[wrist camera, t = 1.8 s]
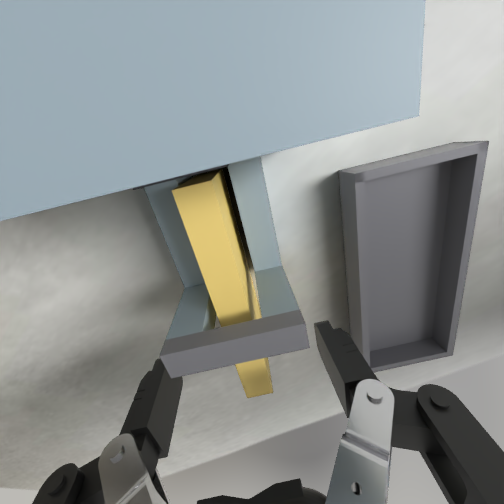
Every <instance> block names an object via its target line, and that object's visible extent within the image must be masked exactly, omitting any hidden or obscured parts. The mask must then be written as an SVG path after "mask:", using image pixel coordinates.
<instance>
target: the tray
mask: <svg viewBox="0 0 504 504" xmlns="http://www.w3.org/2000/svg"><path fill="white" fill-rule="evenodd" d="M488 145H489V141H473V142H453V143H449V144H445V145H441V146H437V147H433V148H429V149H425V150H421V151H417V152H413V153H409V154H404V155H400V156H396V157H392V158H388V159H384V160H380V161H376V162H372V163H368V164H364V165H360V166H356V167H352V168H348V169H343V170H339V183H340V197H341V211H342V224H343V238H344V252H345V265H346V279H347V293H348V306H349V320H350V334H351V338H352V340H353V341H354V344H356V346H357V348H358V350H359V351H360V352H361V354H362V355H363V357H364V359H365V360H366V362H367V363H368V365H369V366H370V368H371V370H372V371H373V372H378V371H382V370H387V369H391V368H396V367H401V366H405V365H410V364H415V363H419V362H424V361H428V360H433V359H438V358H442V357H447V356H452V355H453V350H454V345H455V339H456V333H457V327H458V321H459V315H460V309H461V303H462V298H463V292H464V286H465V280H466V274H467V268H468V262H469V256H470V250H471V245H472V239H473V233H474V227H475V221H476V215H477V209H478V203H479V198H480V192H481V186H482V180H483V174H484V168H485V162H486V156H487V151H488Z"/></svg>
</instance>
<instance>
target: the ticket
mask: <svg viewBox="0 0 504 504" xmlns="http://www.w3.org/2000/svg"><path fill="white" fill-rule="evenodd" d="M172 193H173V196H174V199H175V201H176V204H177V207H178V210H179V212H180V215H181V218H182V221H183V223H184V226H185V229H186V232H187V234H188V237H189V240H190V242H191V245H192V248H193V251H194V253H195V256H196V259H197V262H198V264H199V267H200V270H201V273H202V275H203V278H204V281H205V284H206V286H207V289H208V292H209V295H210V297H211V300H212V303H213V306H214V308H215V311H216V314H217V317H218V319H219V322H220V325H221V327H224V326H229V325H233V324H238V323H242V322H246V321H251V320H255V319H260V318H262V316H261V312H260V308H259V304H258V301H257V297H256V293H255V289H254V286H253V282H252V278H251V274H250V271H249V267H248V263H247V259H246V256H245V252H244V248H243V244H242V241H241V237H240V233H239V229H238V226H237V222H236V218H235V214H234V211H233V207H232V203H231V199H230V195H229V192H228V188H227V184H226V180H225V177H224V173H223V169H222V168H220V169H216V170H212V171H208V172H204V173H200V174H198V175H196V176H195V177H193V178H191V179H190V180H188V181H186V182H185V183H183V184H181V185H180V186H178V187H176V188H175V189H173V190H172ZM235 366H236V369H237V371H238V374H239V377H240V380H241V382H242V385H243V388H244V391H245V393H246V396H247V398H251V397H256V396H260V395H265V394H269V393H273V388H272V381H271V375H270V368H269V362H268V357H266V358H262V359H257V360H253V361H248V362H244V363H239V364H235Z"/></svg>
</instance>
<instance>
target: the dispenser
mask: <svg viewBox="0 0 504 504" xmlns="http://www.w3.org/2000/svg"><path fill="white" fill-rule="evenodd" d="M424 18H425V0H0V221H3V220H7V219H11V218H15V217H19V216H23V215H27V214H31V213H35V212H39V211H43V210H47V209H51V208H55V207H58V206H62V205H66V204H70V203H74V202H78V201H82V200H86V199H90V198H94V197H98V196H102V195H106V194H110V193H114V192H118V191H122V190H126V189H130V188H133V190H135V189H139V188H143V187H144V190H145V192H146V194H147V197H148V199H149V202H150V204H151V207H152V209H153V211H154V214H155V216H156V219H157V221H158V224H159V226H160V229H161V231H162V233H163V236H164V238H165V241H166V243H167V246H168V248H169V250H170V253H171V255H172V258H173V260H174V263H175V265H176V267H177V270H178V272H179V275H180V277H181V280H182V282H183V285H184V287H185V289H184V292H183V295H182V297H181V300H180V303H179V305H178V308H177V311H176V313H175V316H174V319H173V321H172V324H171V327H170V329H169V332H168V335H167V337H166V340H165V343H164V345H163V348H162V351H161V353H160V356H159V357H160V358H161V360H162V362H163V364H164V366H165V368H166V369H167V371H168V373H169V375H170V377H171V379H172V378H176V377H181V376H185V375H190V374H194V373H199V372H203V371H208V370H212V369H217V368H221V367H226V366H230V365H235V364H239V363H244V362H248V361H253V360H257V359H262V358H266V357H271V356H275V355H280V354H284V353H289V352H293V351H298V350H302V349H307V348H310V347H309V341H308V335H307V330H306V324H305V321H304V319H303V316H302V314H301V311H300V309H299V306H298V304H297V301H296V299H295V296H294V294H293V291H292V289H291V287H290V284H289V282H288V279H287V277H286V274H285V272H284V269H283V267H282V263H281V258H280V253H279V248H278V243H277V238H276V233H275V228H274V223H273V218H272V213H271V208H270V203H269V198H268V193H267V188H266V183H265V178H264V173H263V168H262V163H261V158H260V156H262V155H266V154H270V153H274V152H278V151H282V150H286V149H290V148H294V147H298V146H302V145H306V144H310V143H314V142H318V141H322V140H326V139H330V138H334V137H338V136H342V135H346V134H350V133H354V132H358V131H362V130H366V129H370V128H374V127H378V126H382V125H386V124H390V123H394V122H398V121H401V120H405V119H409V118H413V117H417V116H419V107H420V89H421V71H422V53H423V36H424ZM227 166H228V170H229V174H230V177H231V181H232V185H233V189H234V193H235V197H236V201H237V205H238V209H239V212H240V216H241V220H242V224H243V228H244V232H245V236H246V240H247V244H248V248H249V251H250V255H251V259H252V263H253V267H254V271H255V277H256V283H257V290H258V296H259V302H260V309H261V315H262V318H260V319H255V320H251V321H246V322H242V323H238V324H233V325H229V326H224V327H220V328H216V329H214V327H215V319H216V311H215V308H214V306H213V303H212V300H211V297H210V295H209V292H208V289H207V286H206V284H205V281H204V278H203V275H202V273H201V270H200V267H199V264H198V262H197V259H196V256H195V253H194V251H193V248H192V245H191V242H190V240H189V237H188V234H187V232H186V229H185V226H184V223H183V221H182V218H181V215H180V212H179V210H178V207H177V204H176V201H175V199H174V196H173V193H172V190H173V189H175V188H176V187H178V186H180V185H181V184H183V183H185V182H186V181H188V180H190V179H191V175H195V174H199V173H203V172H207V171H211V170H215V169H219V168H223V167H227Z"/></svg>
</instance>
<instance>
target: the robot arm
mask: <svg viewBox="0 0 504 504" xmlns="http://www.w3.org/2000/svg"><path fill="white" fill-rule="evenodd" d="M314 327H315V334H316V341H317V346H318V350H319V353H320V356H321V358H322V360H323V363H324V365H325V367H326V370H327V372H328V374H329V377H330V379H331V381H332V384H333V386H334V388H335V391H336V393H337V395H338V397H339V400H340V402H341V404H342V407H343V409H344V411H345V414H346V416H347V418H349V421H348V426H347V429H346V432H345V434H343V436H342V438H341V441H340V445H339V449H338V453H337V457H336V461H335V465H334V470H333V474H332V478H331V482H330V486H329V490H328V494H327V496H325V495H324V494H322V493H320V492H318V491H316V490H313V489H310V488H305V487H302V484H301V480H300V479H295V480H290V481H286V482H281V483H276V484H274V485H272V486H270V487H269V488H267V489H265V490H264V491H262V492H260V493H259V494H257V495H255V496H254V497H252V498H250V499H242V498H236V497H230V496H223V495H222V496H217V497H213V498H208V499H203V500H199V501H197V504H387V499H388V487H389V476H390V465H391V453H392V447H397V448H403V449H409V450H414V451H419V452H420V453H421V455H422V457H423V459H424V460H425V462H426V464H427V466H428V468H429V469H430V471H431V473H432V475H433V476H434V478H435V480H436V482H437V483H438V485H439V487H440V489H441V490H442V492H443V494H444V496H445V498H446V499H447V501H448V502H449V504H504V452H503V451H502V449H501V448H500V447H499V446H498V445H497V444H496V442H495V441H494V440H493V439H492V438H491V436H490V435H489V434H488V433H487V432H486V430H485V429H484V428H483V427H482V426H481V424H480V423H479V422H478V421H477V420H476V419H475V417H474V416H473V415H472V414H471V413H470V412H469V410H468V409H467V408H466V407H465V406H464V404H463V403H462V402H461V401H460V400H459V398H458V397H457V396H456V395H454V394H453V393H452V392H450V391H449V390H447V389H446V388H443V387H441V386H438V385H433V384H428V385H423V386H421V387H420V388H419V389H418V392H409V391H400V390H395V389H392V388H390V387H388V386H386V385H385V384H384V383H382V382H380V381H379V380H378V379H377V377H376V376H375V374H374V373H373V371H372V370H371V368H370V366H369V365H368V363H367V362H366V360H365V359H364V357H363V355H362V354H361V352H360V351H359V350H358V348H357V346H356V344H354V341H353V340H352V338H351V337H350V335H349V334H348V333H347V332H345V331H344V330H343V329H341V328H338V329H334V330H333V328H332V326H331V324H330V323H329V321H328V320H327V321H323V322H319V323H314ZM182 385H183V380H182V376H181V377H176V378H172V379H171V377H170V375H169V373H168V371H167V369H166V368H165V366H164V364H163V362H162V360H161V358H160V359H157V360H156V361H155V364H154V367H153V369H152V371H149V372H147V374H146V375H145V376H144V378H143V379H142V380H141V382H140V385H139V387H138V390H137V393H136V395H135V397H134V401H133V402H132V405H131V407H130V410H129V412H128V415H127V417H126V420H125V422H124V425H123V427H122V430H121V432H120V434H119V436H117V437H116V438H114V439H113V440H112V441H111V442H110V443H109V444H108V445H107V446H106V447H105V449H104V450H103V452H102V454H101V456H100V457H98V458H96V459H94V460H93V461H91V462H89V463H87V464H86V465H84V466H82V467H80V468H78V467H77V466H76V465H75V464H73V463H69V464H66V465H63V466H62V467H60V468H59V469H57V470H56V471H55V472H54V473H52V474H51V475H50V476H49V478H48V479H47V480H46V481H45V482H44V484H43V485H42V487H41V488H40V490H39V492H38V494H37V496H36V498H35V499H34V502H33V503H32V504H171V503H170V500H169V498H168V495H167V493H166V490H165V488H164V485H163V483H162V480H161V478H160V475H159V473H158V470H157V469H156V466H157V462H158V459H160V458H165V457H167V456H168V451H169V447H170V442H171V437H172V433H173V428H174V423H175V419H176V414H177V409H178V405H179V400H180V395H181V391H182Z"/></svg>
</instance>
